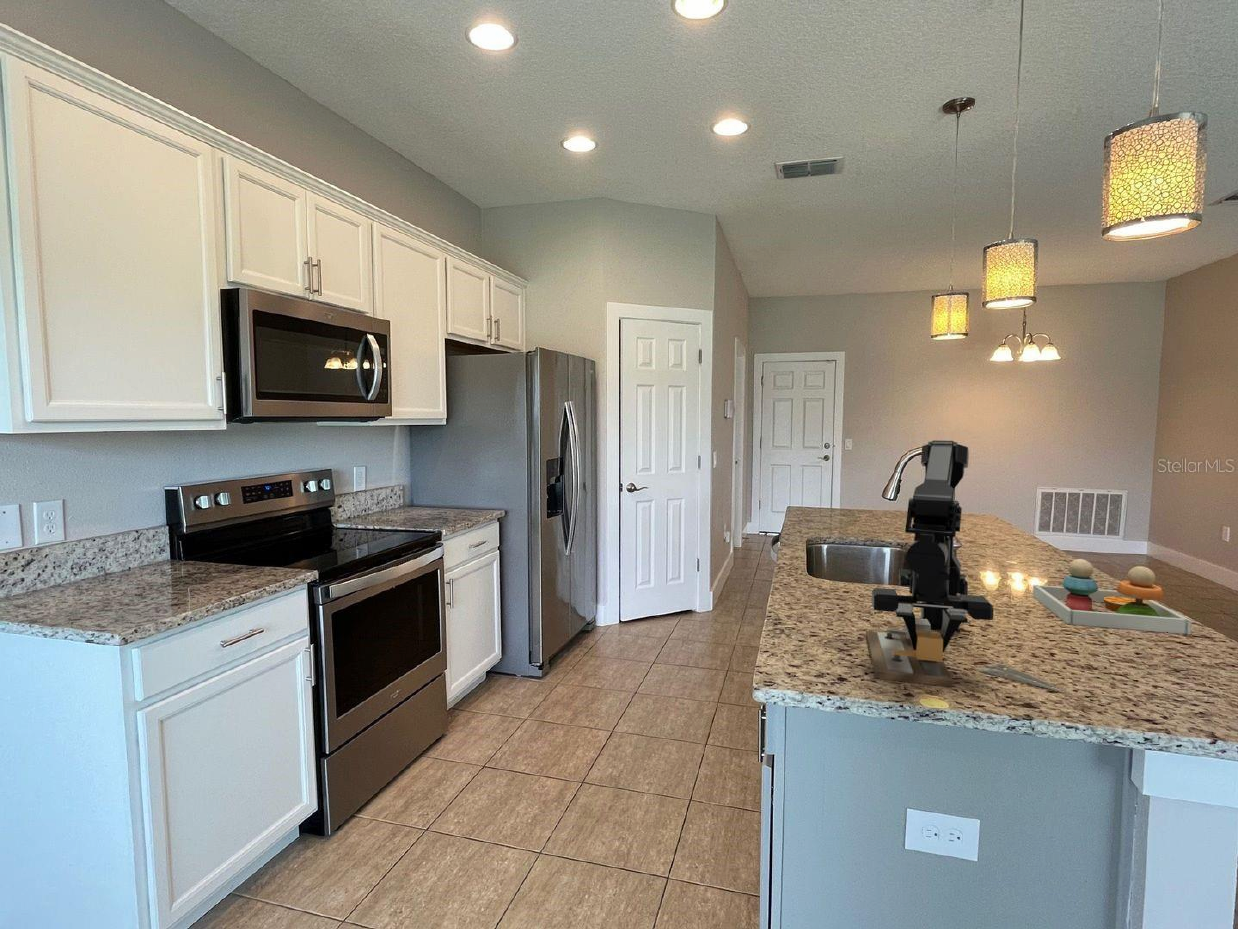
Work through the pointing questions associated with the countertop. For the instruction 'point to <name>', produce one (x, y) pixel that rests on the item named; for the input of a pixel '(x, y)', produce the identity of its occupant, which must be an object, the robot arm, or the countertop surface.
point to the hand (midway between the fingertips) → (927, 650)
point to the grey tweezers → (1022, 676)
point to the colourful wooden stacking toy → (1135, 587)
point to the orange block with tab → (925, 647)
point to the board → (904, 658)
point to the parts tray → (1164, 623)
